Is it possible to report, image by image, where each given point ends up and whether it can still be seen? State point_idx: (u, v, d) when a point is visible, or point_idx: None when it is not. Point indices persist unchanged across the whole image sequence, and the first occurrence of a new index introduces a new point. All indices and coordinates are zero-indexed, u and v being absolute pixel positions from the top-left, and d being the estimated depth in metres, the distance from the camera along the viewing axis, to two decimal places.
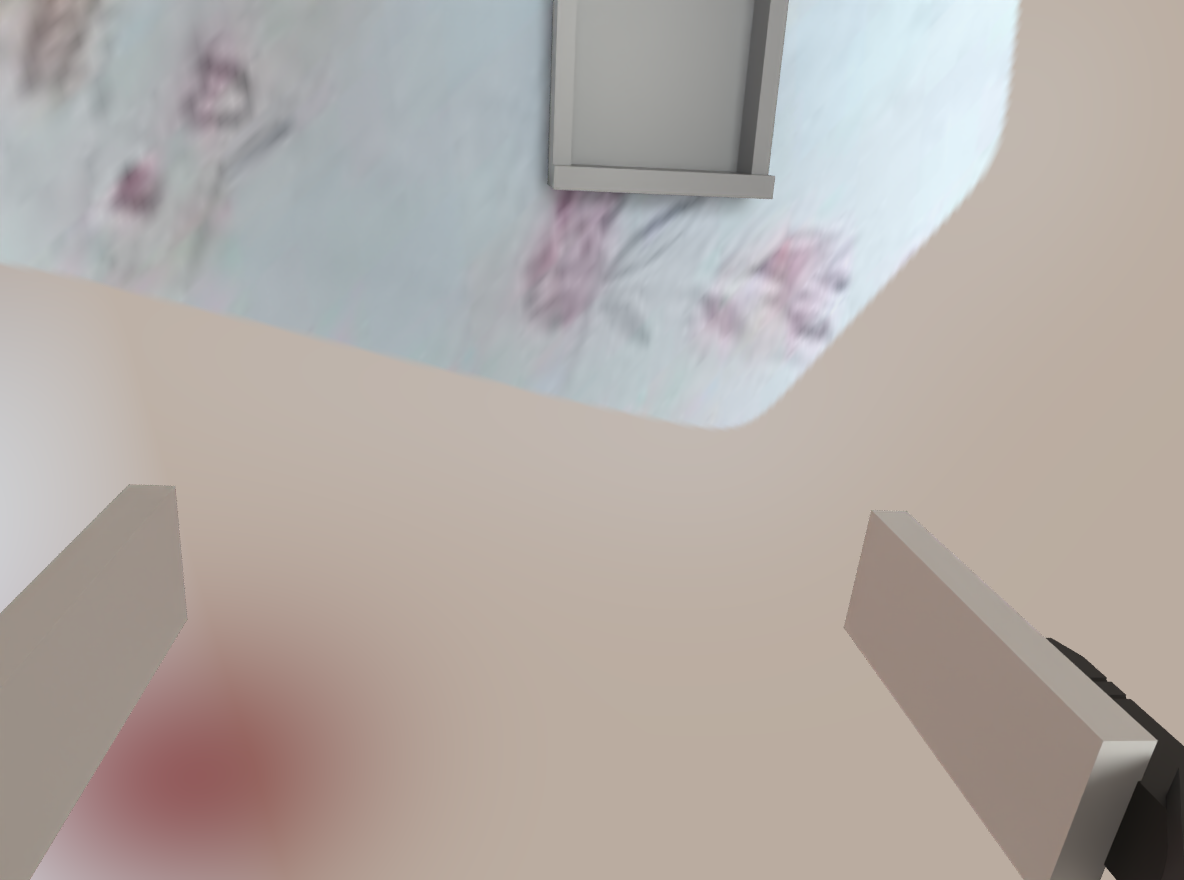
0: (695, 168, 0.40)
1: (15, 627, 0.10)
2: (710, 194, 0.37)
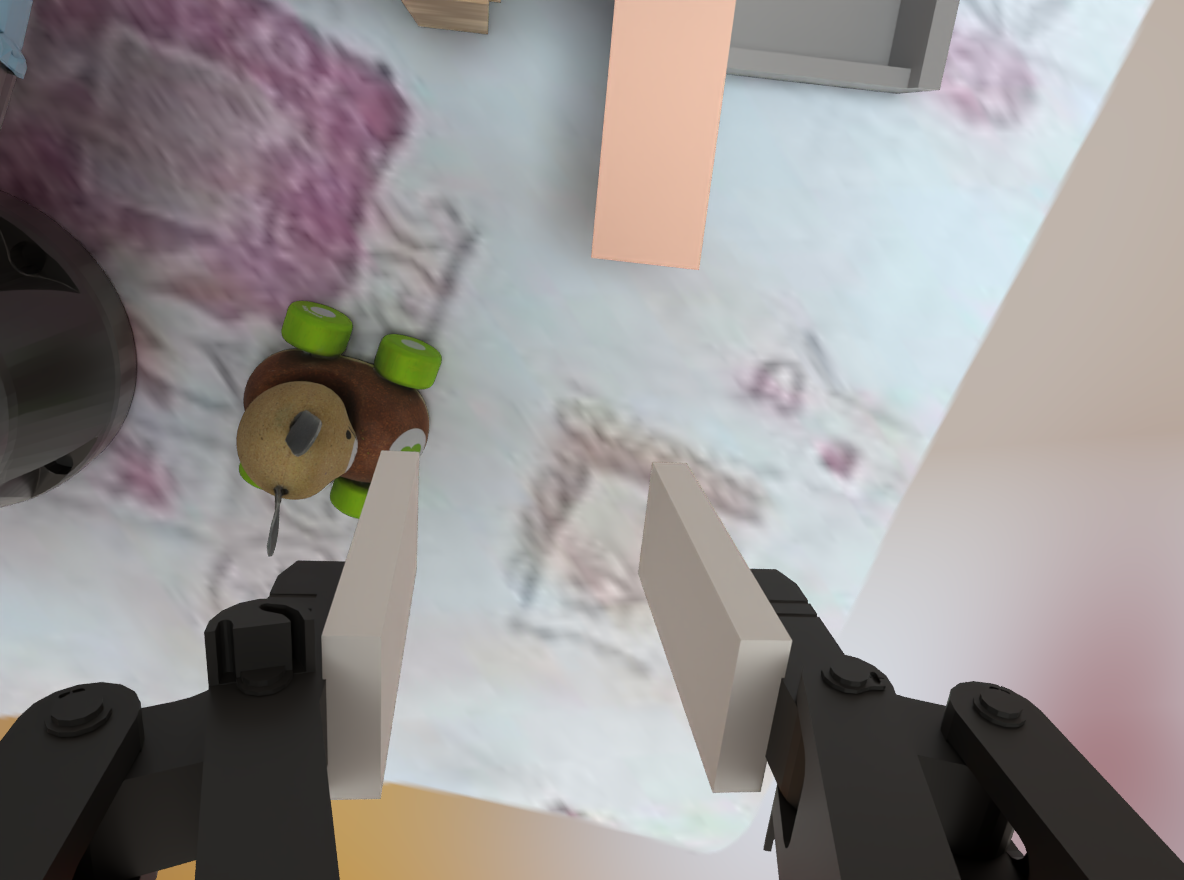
0: None
1: (369, 554, 0.13)
2: None
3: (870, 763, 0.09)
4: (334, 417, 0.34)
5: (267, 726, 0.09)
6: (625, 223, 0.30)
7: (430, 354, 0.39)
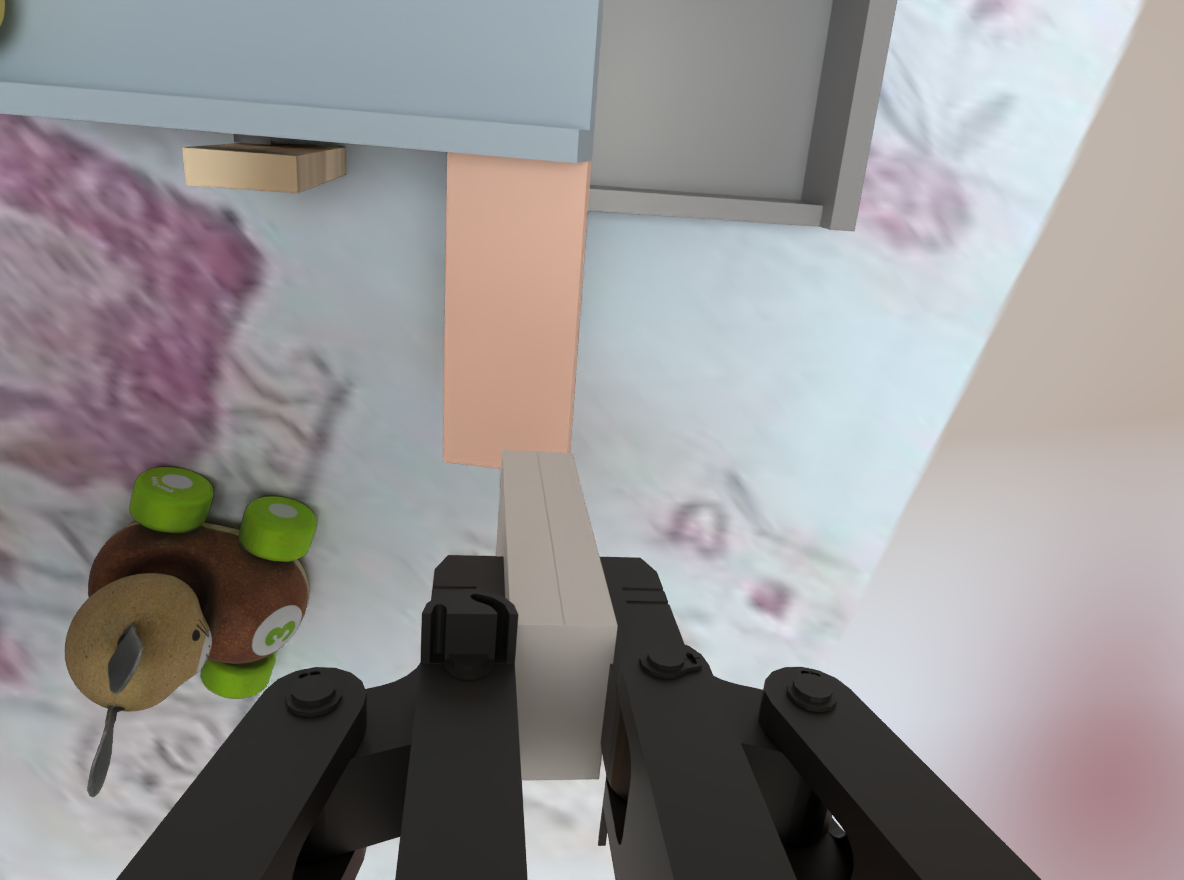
0: (826, 32, 0.32)
1: (527, 548, 0.13)
2: (889, 26, 0.29)
3: (693, 749, 0.09)
4: (175, 622, 0.30)
5: (469, 709, 0.10)
6: (478, 426, 0.26)
7: (301, 522, 0.35)
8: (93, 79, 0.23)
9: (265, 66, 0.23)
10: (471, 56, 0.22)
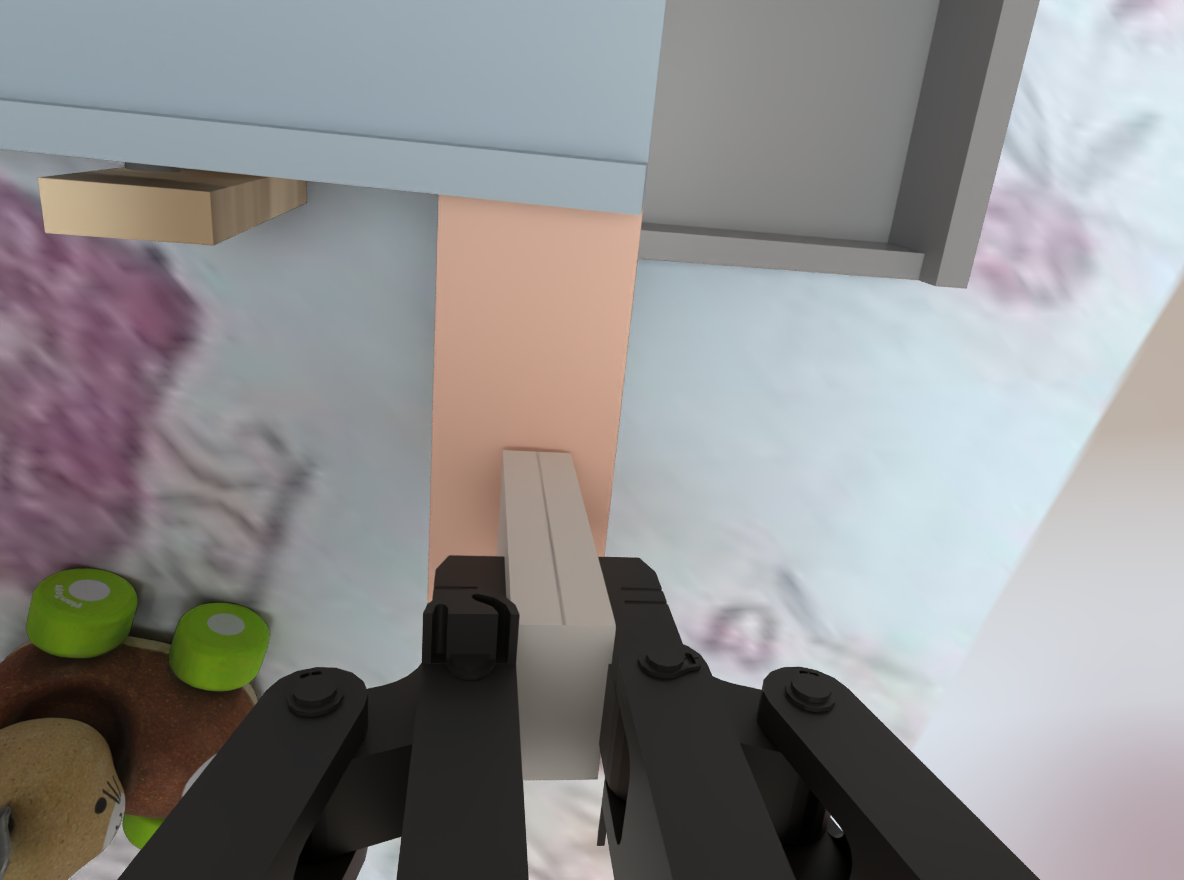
0: (931, 30, 0.25)
1: (528, 548, 0.13)
2: (1030, 22, 0.22)
3: (691, 749, 0.09)
4: (70, 795, 0.23)
5: (470, 709, 0.10)
6: None
7: (248, 641, 0.28)
8: None
9: (168, 59, 0.15)
10: (476, 51, 0.15)
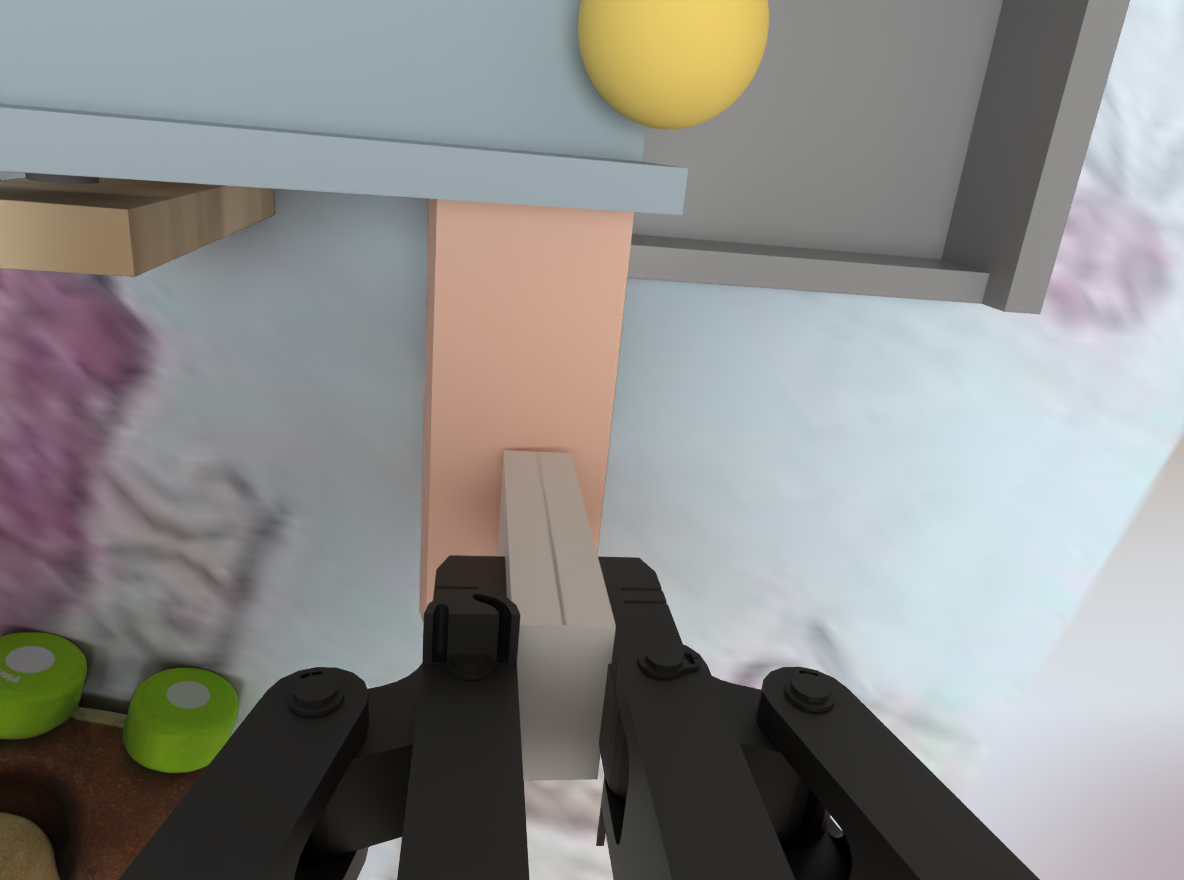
0: (997, 14, 0.21)
1: (528, 548, 0.13)
2: (1125, 3, 0.18)
3: (691, 749, 0.09)
4: None
5: (471, 709, 0.10)
6: None
7: (213, 715, 0.24)
8: None
9: (99, 44, 0.12)
10: (479, 48, 0.14)
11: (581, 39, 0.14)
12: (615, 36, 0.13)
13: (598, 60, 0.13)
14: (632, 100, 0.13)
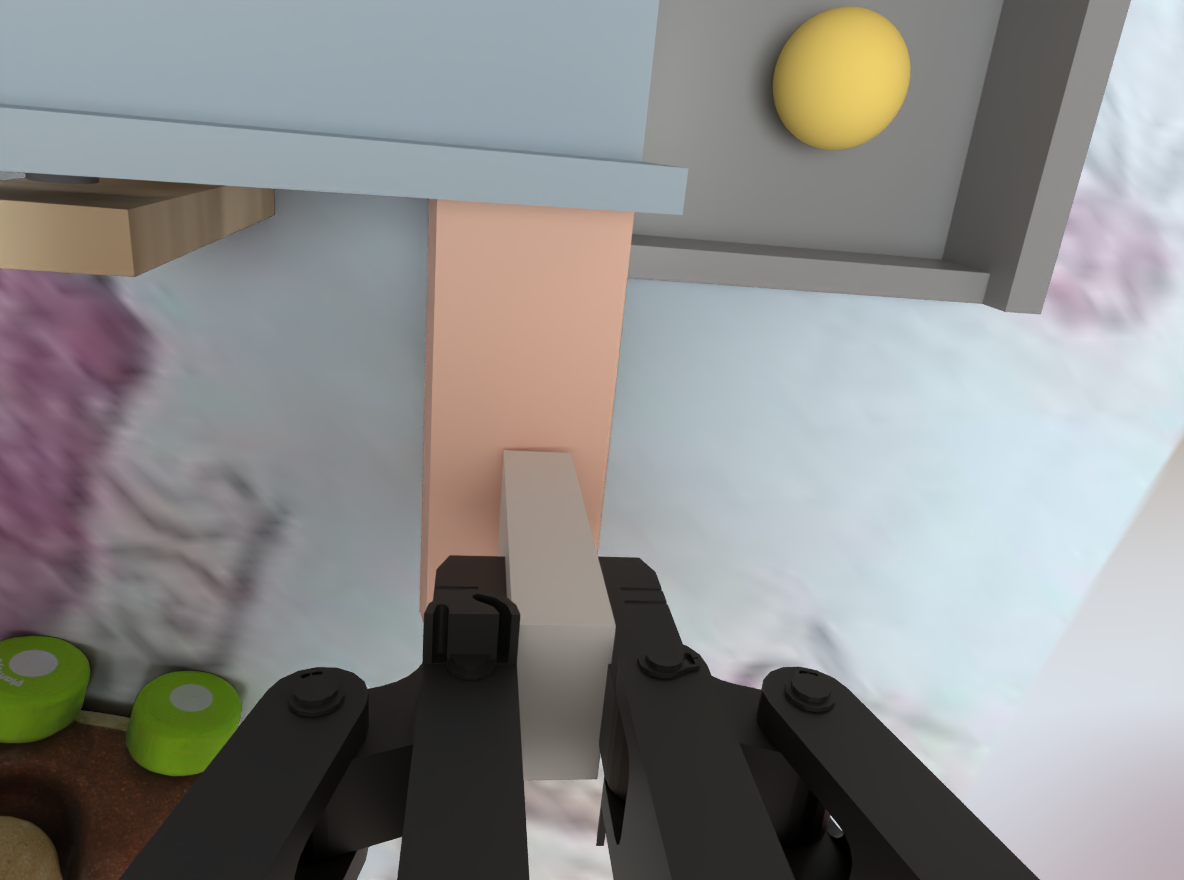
0: (998, 14, 0.21)
1: (529, 548, 0.13)
2: (1126, 3, 0.18)
3: (691, 749, 0.09)
4: None
5: (471, 709, 0.10)
6: None
7: (216, 718, 0.24)
8: None
9: (99, 44, 0.12)
10: (479, 48, 0.14)
11: None
12: None
13: None
14: None
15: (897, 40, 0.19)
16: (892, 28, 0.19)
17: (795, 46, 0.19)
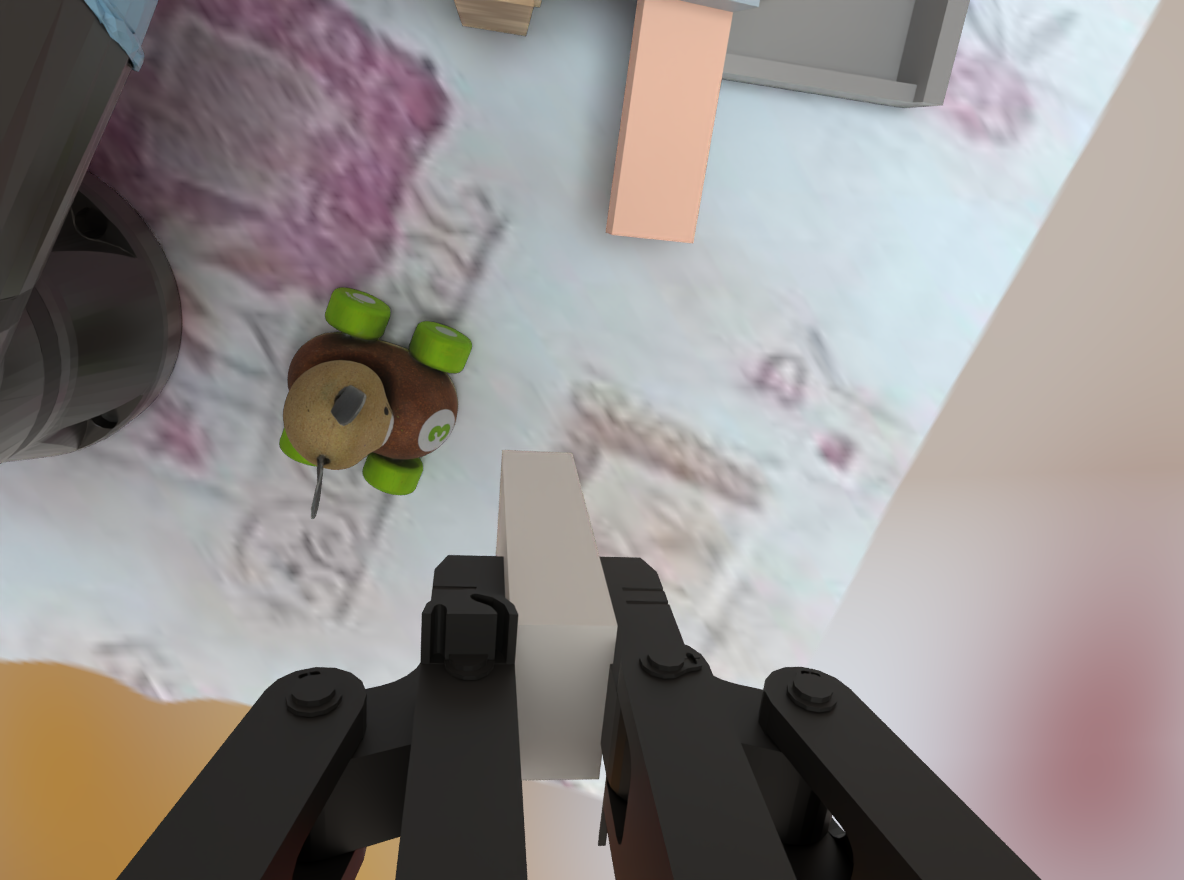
0: None
1: (527, 548, 0.13)
2: None
3: (693, 749, 0.09)
4: (375, 394, 0.37)
5: (469, 709, 0.10)
6: (640, 205, 0.36)
7: (462, 340, 0.42)
8: None
9: None
10: None
11: None
12: None
13: None
14: None
15: None
16: None
17: None
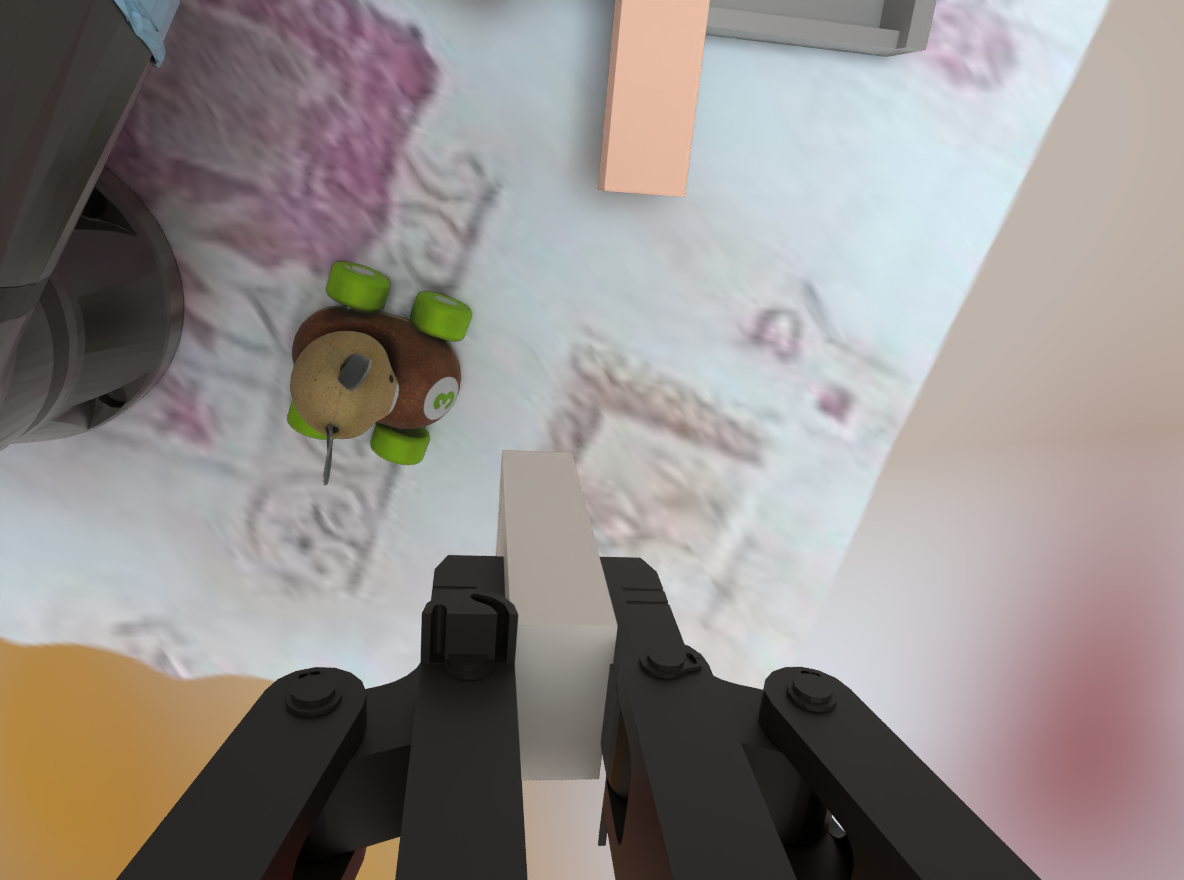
0: None
1: (527, 548, 0.13)
2: None
3: (693, 749, 0.09)
4: (379, 362, 0.38)
5: (469, 709, 0.10)
6: (631, 160, 0.36)
7: (462, 308, 0.42)
8: None
9: None
10: None
11: None
12: None
13: None
14: None
15: None
16: None
17: None
